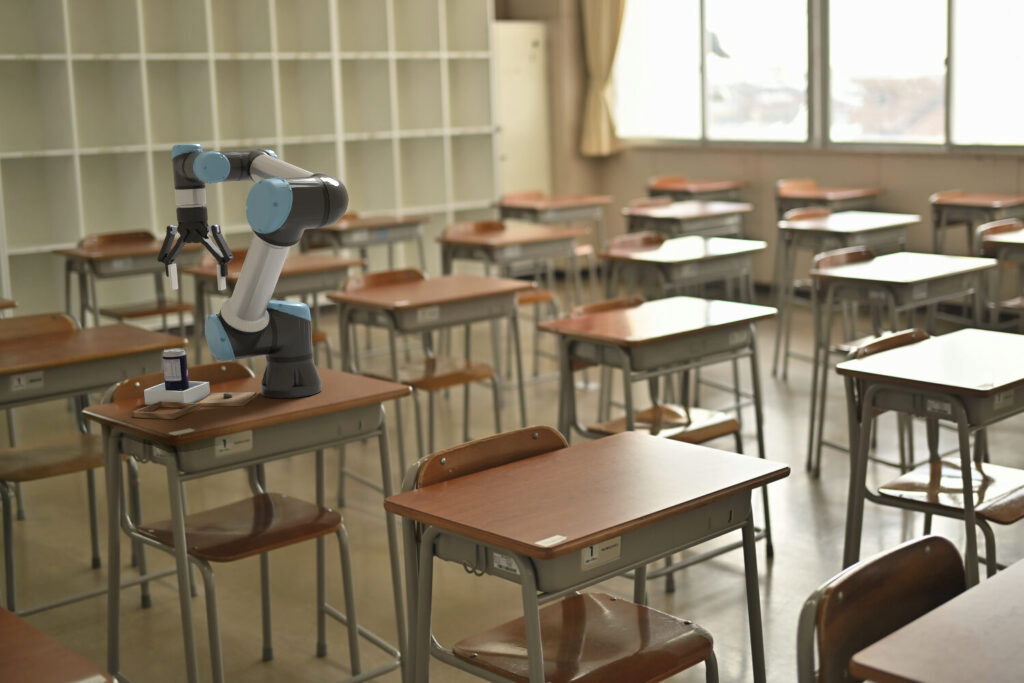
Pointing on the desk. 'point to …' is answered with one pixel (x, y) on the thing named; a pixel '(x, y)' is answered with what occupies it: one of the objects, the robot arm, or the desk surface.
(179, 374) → the beverage can
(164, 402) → the frame
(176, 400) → the tray
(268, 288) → the robot arm
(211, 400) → the lid
